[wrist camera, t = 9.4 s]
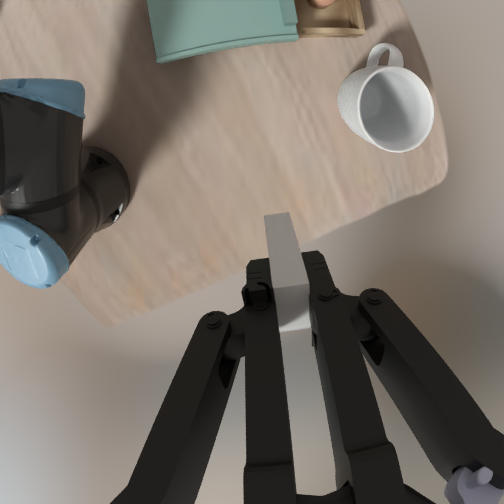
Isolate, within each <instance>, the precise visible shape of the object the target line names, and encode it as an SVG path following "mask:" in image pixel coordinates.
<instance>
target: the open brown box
mask: <svg viewBox="0 0 504 504" xmlns="http://www.w3.org/2000/svg"><path fill="white" fill-rule="evenodd" d="M294 4H295V9H296V14H297V20H298V23H297V24H296V28H297V34H298V36H299V38H303V37H351V38H355V37H358V36H362V35H365V34H366V33H365V27H364V21H363V15H362V10H361V5H360V0H335V1H334V2H333V3H332V4H331V5H329V6H328V7H327V8H325V9H316V8H313V7H312V6H310V5H309V4H308V2H307V0H294Z"/></svg>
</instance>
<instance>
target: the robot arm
mask: <svg viewBox="0 0 504 504" xmlns="http://www.w3.org/2000/svg"><path fill="white" fill-rule="evenodd" d="M84 103H85V89H84V87H83V85H82V84H81V83H80V82H78V81H74V80H64V79H43V78H28V79H25V78H23V79H2V80H0V206H1V212H2V214H1V216H0V263H1V264H2V265H3V267H4V268H5V269H6V270H7V271H8V272H9V273H10V274H11V275H12V276H13V277H15V278H16V279H17V280H19V281H20V282H22V283H24V284H26V285H28V286H31V287H34V288H48V287H51V286H52V285H54V284H55V283H56V282H57V281H58V280H59V279H60V278H61V277H62V275H63V274H65V273H66V272H67V271H68V269H69V266H70V265H71V264H72V262H73V261H74V259H75V258H76V256H77V255H78V254H79V252H80V251H81V250H82V248H83V247H84V246H85V244H86V243H87V242H88V240H89V239H90V238H91V236H92V235H93V234H94V233H95V232H98V231H100V230H102V229H105V228H107V227H109V226H111V225H112V224H113V223H115V222H116V221H117V220H118V218H119V217H120V216H121V215H122V213H123V212H124V210H125V209H126V207H127V204H128V201H129V195H130V187H129V181H128V177H127V174H126V172H125V170H124V168H123V166H122V165H121V163H120V162H119V161H118V160H117V159H116V158H115V157H114V156H113V155H112V154H110V153H109V152H107V151H105V150H103V149H101V148H97V147H84V148H81V147H82V131H83V119H85V114H84ZM264 221H265V229H266V237H267V245H268V253H269V258H264V259H256V260H250V262H249V263H248V265H247V267H246V273H247V276H246V278H247V284H246V285H245V286H244V287H243V289H242V292H241V293H242V297H243V301H244V307H243V308H242V309H240V310H239V311H237V312H235V313H233V314H230V315H227V314H225V313H224V312H220V311H212V312H210V313H207V314H206V315H204V316H203V317H202V318H201V319H200V321H199V323H198V325H197V327H196V329H195V331H194V334H193V336H192V338H191V340H190V343H189V345H188V347H187V349H186V351H185V354H184V356H183V358H182V360H181V362H180V365H179V367H178V369H177V371H176V374H175V376H174V378H173V380H172V383H171V385H170V387H169V390H168V392H167V394H166V396H165V399H164V401H163V403H162V405H161V408H160V410H159V413H158V415H157V417H156V419H155V422H154V424H153V426H152V429H151V431H150V433H149V436H148V438H147V440H146V443H145V445H144V447H143V450H142V452H141V454H140V457H139V459H138V462H137V464H136V466H135V469H134V471H133V473H132V476H131V478H130V481H129V483H128V485H127V487H126V488H125V489H124V490H123V491H122V492H121V493H120V494H119V495H118V496H117V497H116V498H115V499H114V500H113V501H112V502H111V503H110V504H194V503H195V500H196V498H197V495H198V492H199V489H200V486H201V483H202V480H203V476H204V473H205V470H206V467H207V464H208V461H209V458H210V455H211V452H212V449H213V446H214V443H215V440H216V436H217V433H218V430H219V427H220V424H221V420H222V417H223V414H224V411H225V408H226V405H227V401H228V398H229V395H230V392H231V388H232V385H233V382H234V379H235V375H236V372H237V369H238V365H239V362H240V358H241V357H244V356H245V390H246V391H245V393H246V394H245V397H246V465H245V467H244V476H243V478H244V479H243V480H244V481H243V484H244V485H243V486H244V504H436V503H434V502H432V501H431V500H429V499H428V498H426V497H425V496H423V495H422V494H420V493H419V492H417V491H416V490H414V489H413V488H411V487H410V486H408V485H406V484H404V483H403V479H402V475H401V470H400V466H399V461H398V458H397V454H396V450H395V448H394V446H393V444H392V443H391V442H389V441H388V439H387V437H386V434H385V430H384V426H383V422H382V419H381V415H380V411H379V408H378V404H377V401H376V397H375V394H374V390H373V387H372V384H371V380H370V377H369V374H368V371H367V367H366V364H365V361H364V358H363V355H364V356H365V358H366V360H367V361H368V363H369V364H370V366H371V367H372V369H373V370H374V372H375V373H376V375H377V376H378V378H379V380H380V381H381V383H382V384H383V386H384V387H385V389H386V390H387V392H388V393H389V395H390V397H391V398H392V400H393V401H394V403H395V405H396V406H397V408H398V409H399V411H400V413H401V414H402V416H403V417H404V419H405V421H406V422H407V424H408V425H409V427H410V429H411V430H412V432H413V433H414V435H415V437H416V439H417V440H418V442H419V443H420V445H421V447H422V448H423V450H424V452H425V453H426V455H427V457H428V459H429V460H430V462H431V463H432V465H433V466H434V468H435V469H436V471H437V472H438V473H439V474H440V475H441V476H442V477H443V478H444V479H445V480H446V481H447V485H446V488H445V492H444V494H445V497H446V498H447V499H448V500H449V502H450V504H498V502H499V500H500V499H501V497H502V496H503V494H504V435H503V434H502V433H500V432H499V431H497V430H496V429H494V428H493V426H492V425H491V423H490V422H489V420H488V419H487V418H486V416H485V415H484V413H483V412H482V410H481V409H480V408H479V406H478V405H477V404H476V402H475V401H474V400H473V398H472V397H471V395H470V394H469V393H468V391H467V390H466V389H465V387H464V386H463V385H462V383H461V382H460V381H459V379H458V378H457V377H456V376H455V374H454V373H453V372H452V370H451V369H450V368H449V367H448V365H447V364H446V363H445V362H444V360H443V359H442V358H441V356H440V355H439V354H438V353H437V352H436V350H435V349H434V348H433V347H432V345H431V344H430V343H429V342H428V341H427V339H426V338H425V337H424V336H423V335H422V334H421V332H420V331H419V330H418V329H417V328H416V326H415V325H414V324H413V323H412V322H411V321H410V320H409V318H408V317H407V316H406V315H405V314H404V313H403V311H402V310H401V309H400V308H399V307H398V306H397V305H396V304H395V303H394V301H393V300H392V299H391V298H390V297H389V296H388V295H387V294H386V293H385V292H384V291H383V290H380V289H376V288H370V289H366V290H364V291H363V292H362V293H361V294H360V296H350V295H345V294H343V293H341V292H340V291H339V289H338V288H336V287H335V285H334V282H333V280H332V277H331V274H330V272H329V269H328V266H327V264H326V261H325V258H324V256H323V255H322V254H321V253H320V252H319V251H310V252H303V253H301V252H300V248H299V245H298V241H297V238H296V234H295V231H294V227H293V224H292V221H291V217H290V214H289V212H287V213H279V214H272V215H265V216H264ZM310 323H311V328H312V346H314V349H315V354H316V359H317V364H318V369H319V375H320V379H321V385H322V390H323V395H324V401H325V406H326V412H327V418H328V424H329V430H330V436H331V442H332V448H333V455H334V461H335V469H336V476H335V477H336V487H337V491H334V492H332V493H329V494H327V495H324V496H314V495H302V494H297V493H296V482H295V472H294V461H293V451H292V441H291V431H290V421H289V411H288V402H287V393H286V384H285V375H284V366H283V357H282V348H281V340H280V332H282V331H290V330H297V329H303V328H310ZM362 354H363V355H362Z"/></svg>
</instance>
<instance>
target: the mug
mask: <svg viewBox="0 0 504 504" xmlns="http://www.w3.org/2000/svg"><path fill="white" fill-rule="evenodd" d="M387 50H389V51H390V55H389V60H388V63H387V66H382V65H381V66H378V62H379V59H380V57H381V55H382V54H383V53H384V52H385V51H387ZM403 66H404V62H403V56H402V53H401V52H400V50H399V49H398V48H397V47H395V46H394V45H392V44H389V43H380V44H377V45H376V46H374V47H373V49H372V50H371V52H370V54H369V57H368V60H367V64H366V67H365V68H362V69H360V70H356V71H355V72H353V73H351V74H350V75H349V76H348V77H347V78H346V79H345V80H344V81H343V82H342V84H341V86H340V88H339V91H338V97H337V98H338V99H337V101H338V107H339V111H340V114H341V116H342V118H343V119H344V121H345V122H346V124H347V125H348V126H349V127H350V129H352V130H353V131H354V132H355V133H357V134H358V135H359V136H361V137H362V138H363V139H365V140H367V141H369V142H370V143H372V144H374V145H376V146H377V147H379V148H381V149H383V150H386V151H389V152H396V153H401V152H407V151H410V150H412V149H414V148H416V147H418V146H419V145H420V144H421V143H422V142H423V141H424V140H425V139H426V137H427V136H428V134H429V132H430V130H431V128H432V125H433V120H434V105H433V100H432V97H431V94H430V92H429V90H428V88H427V86H426V85H425V83H424V82H423V81H422V80H421V79H420V78H419V77H418V76H417V75H416V74H415V73H413V72H411V71H410V70H408V69H406V68H403Z"/></svg>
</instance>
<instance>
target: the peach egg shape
mask: <svg viewBox="0 0 504 504" xmlns="http://www.w3.org/2000/svg"><path fill="white" fill-rule="evenodd" d="M334 1H335V0H307V2H308V4H309V5H310V6H312V7H313V8H316V9H325V8H327V7H328V6H329V5H331V4H332V3H333V2H334Z"/></svg>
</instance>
